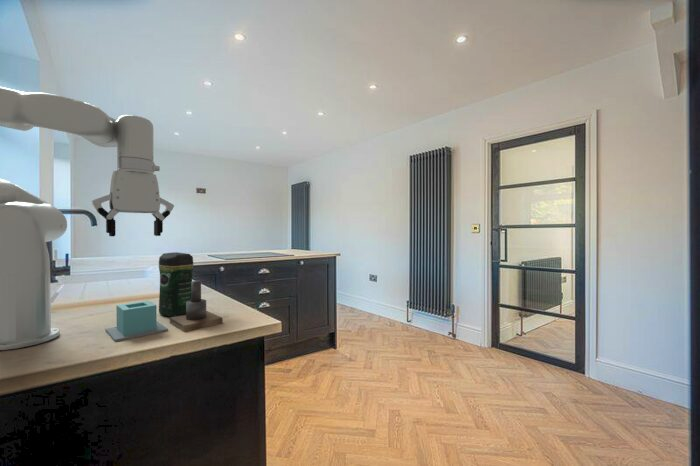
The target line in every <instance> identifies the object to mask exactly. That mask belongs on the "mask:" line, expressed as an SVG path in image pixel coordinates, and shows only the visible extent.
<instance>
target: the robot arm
mask: <svg viewBox="0 0 700 466" xmlns="http://www.w3.org/2000/svg"><path fill="white" fill-rule="evenodd" d="M0 127H4V128H6V129H13V130H18V131H23V132H26V131H29V130H31V129H33V128H44V129H49V130H54V131H58V132H63V133H68V134H72V135H76V136H79V137H80V138H83V139H84V140H86V141H88V142H90V143H91V144H94V145H95V146H98V147H99V148H100V147H101V148H116V149H117V151H116V154H117V155H116V157H117V159H116V160H117V163H116V166H117V168H116V169H117V170H113V172H112V175H111V178H110V184H109V185H110V188H109V193H108V194H106V195H104V196H101V197H97V198H96V199H95V198H94V199H92V200H91V204H92V206H93V207H94V209H95V210H96V212H97V213H98V214H99V215H101V216H102V218H103V219H104V220H105V228H106V230H105V232H106V233H107V234H108V236H109V237H115V236H116V219H115V217H116V216H117V215H118V214H119V213H129V214H150V215H152V216H153V218H154V219H155V220H154V221H153V236H155V237H157V236H158V237H160V236H161V234H162V233H163V229H164V227H163V224H164V223H163V222H164V221H165V219H166V218H167V217H168V216H169V215H171V213H172V211H173V209H174V208H175V205H174V204H173V203H171V202H170V201H168V200H166V199H164V198H162V197H160V187H159V181H158V178H157V175H156V174H155V172H160V170H161V169H160V166H159V165H157V164H156V165H155V161H154V124H153V123H152V121H151V120H149V119H147V118H146V117H142V116H138V115H133V114H125V115H124V114H123V115H120V116H119V117H118V119H116V118H113V117H112V116H109V115H108V114H107V113H106V112H104V111H103V110H102V109H100V107H97V106H95V105H94V104H91V103H88V102H85V101H82V100H78V99H73V98H70V97H65V96H62V95H58V94H52V93H46V92H31V91H29V92H25V91H20V90H16V89H11V88H7V87H2V86H0ZM108 201H109V205H108V206H109V209H110V210H109V211H107V210H106V209H104V206H102V203H105V202H108ZM161 205H162V206H163V207H165V210H164V211H162V213H161V212H160V208H161ZM67 228H68V221H67V218H66V216H65V215H64V213H63V212H62V211H61V210H60V209H58V208H57V207H55V206H54V205H53V204H50V203H49V202H47V201H45V200H43V199H42V198H40V197H38V196H37V195H34V194H33V193H31V192H30V191H28V190H27V189H24V188H23V187H21V186H19V185H17V184H16V183H13V182H11V181H8V180H6V179H4V178H3V179H2V178H0V351H6V350H7V351H8V350H9V351H10V350H15V349H22V348H26V347H31V346H35V345H39V344H43V343H45V342H46V343H47V342H49V341H51V340H54V339H56V338H57V337H58V336H59V335H60V334H61V333H60V332H61V330H60V328H57V327H52V320H51V319H52V318H51V317H52V316H51V315H52V304H51V258H50V253H49V249H48V246H47V243H48V242H52V241H55V240H57V239H60V238H61V237H62V236H63V235H64V234H65V233H66V231H67Z"/></svg>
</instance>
